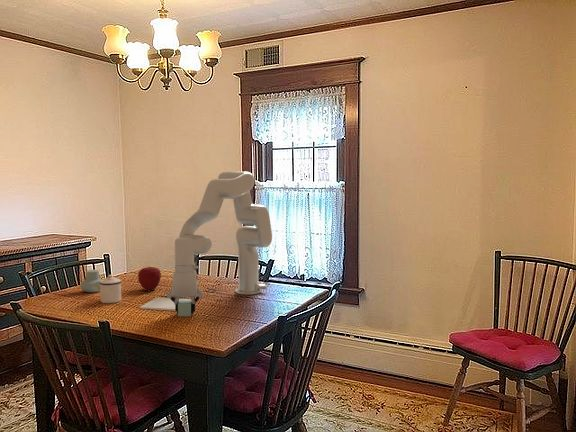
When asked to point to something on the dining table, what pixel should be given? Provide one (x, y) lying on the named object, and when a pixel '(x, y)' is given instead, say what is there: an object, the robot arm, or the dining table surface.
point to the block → (184, 308)
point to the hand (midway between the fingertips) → (185, 312)
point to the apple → (149, 277)
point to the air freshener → (91, 281)
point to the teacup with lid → (110, 290)
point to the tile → (161, 304)
